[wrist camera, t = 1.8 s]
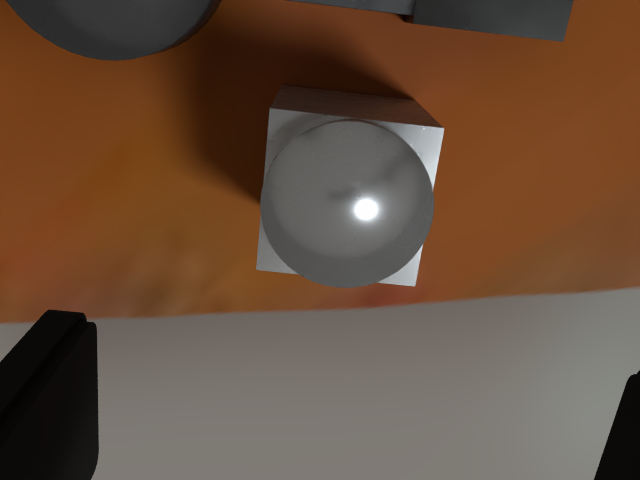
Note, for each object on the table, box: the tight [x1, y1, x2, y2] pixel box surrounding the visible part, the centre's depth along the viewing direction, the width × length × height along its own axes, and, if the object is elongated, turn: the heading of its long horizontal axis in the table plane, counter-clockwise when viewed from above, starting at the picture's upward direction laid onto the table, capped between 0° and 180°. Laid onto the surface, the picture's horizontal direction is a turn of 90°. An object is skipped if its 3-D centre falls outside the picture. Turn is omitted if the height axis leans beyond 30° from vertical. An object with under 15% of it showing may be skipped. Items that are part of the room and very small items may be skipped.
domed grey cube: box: [256, 85, 444, 288], centre depth 25 cm, size 6×6×8 cm
